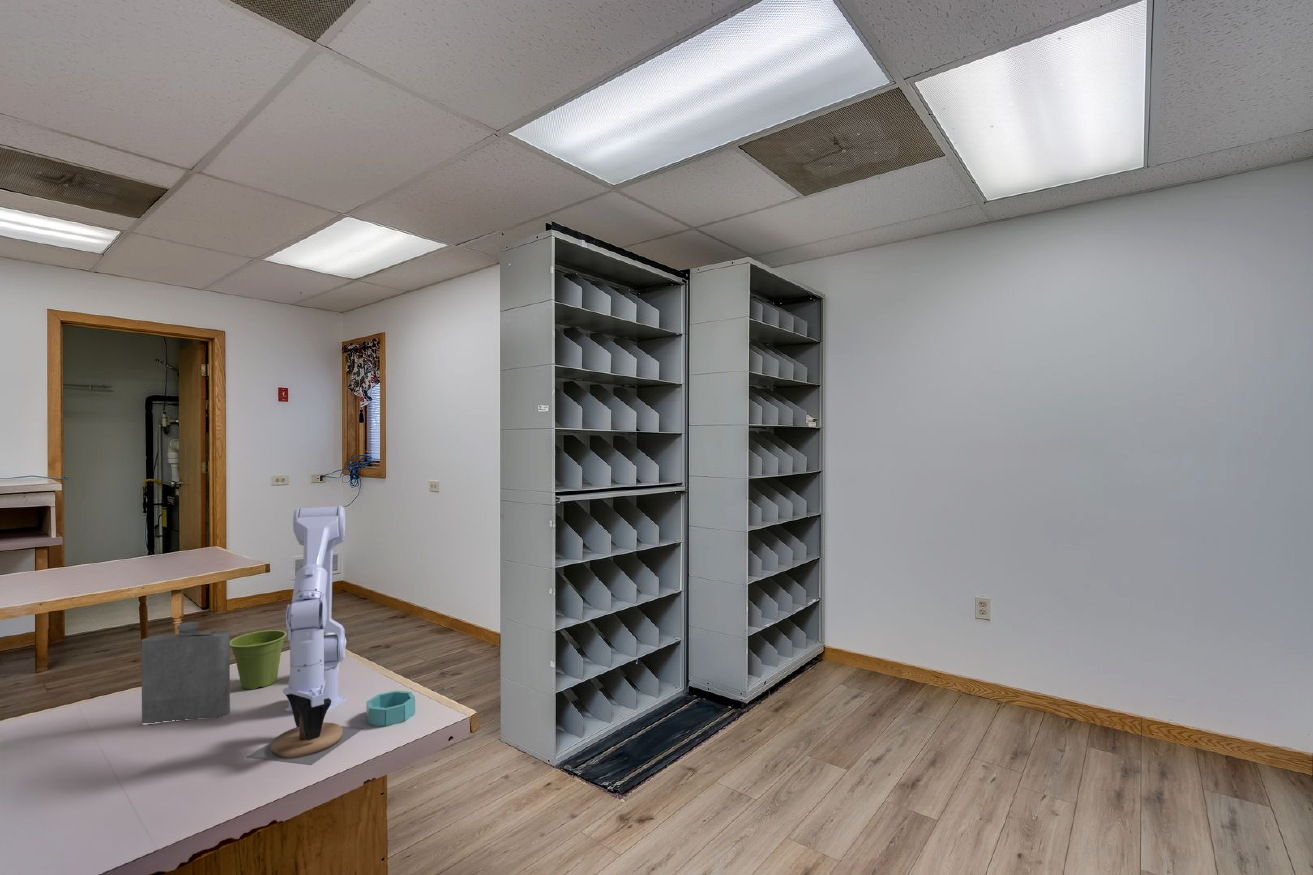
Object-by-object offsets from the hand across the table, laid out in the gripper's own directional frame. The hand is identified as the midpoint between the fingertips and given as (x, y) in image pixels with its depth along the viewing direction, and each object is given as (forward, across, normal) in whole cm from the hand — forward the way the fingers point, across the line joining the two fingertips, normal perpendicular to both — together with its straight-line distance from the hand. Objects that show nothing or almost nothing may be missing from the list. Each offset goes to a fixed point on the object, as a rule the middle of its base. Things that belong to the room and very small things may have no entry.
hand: (307, 731), depth 118 cm
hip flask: (+3, -31, -15) cm, 34 cm away
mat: (+2, 0, 0) cm, 2 cm away
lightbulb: (+3, -34, +14) cm, 37 cm away
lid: (+2, 0, 0) cm, 2 cm away
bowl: (+3, 0, +16) cm, 16 cm away
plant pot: (+3, -41, -1) cm, 41 cm away
